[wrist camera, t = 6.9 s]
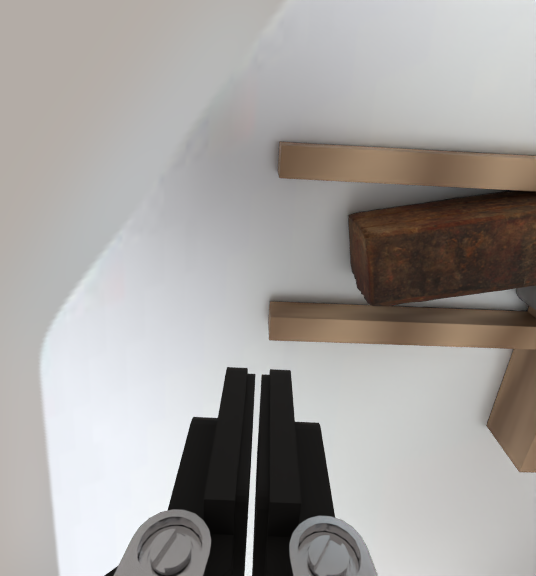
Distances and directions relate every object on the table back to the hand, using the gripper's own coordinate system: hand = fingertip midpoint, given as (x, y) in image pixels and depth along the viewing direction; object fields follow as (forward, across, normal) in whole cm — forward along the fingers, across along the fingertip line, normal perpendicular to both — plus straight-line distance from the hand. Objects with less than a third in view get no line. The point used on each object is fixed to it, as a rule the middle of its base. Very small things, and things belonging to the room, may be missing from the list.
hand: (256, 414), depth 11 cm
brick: (+14, -10, -2) cm, 17 cm away
